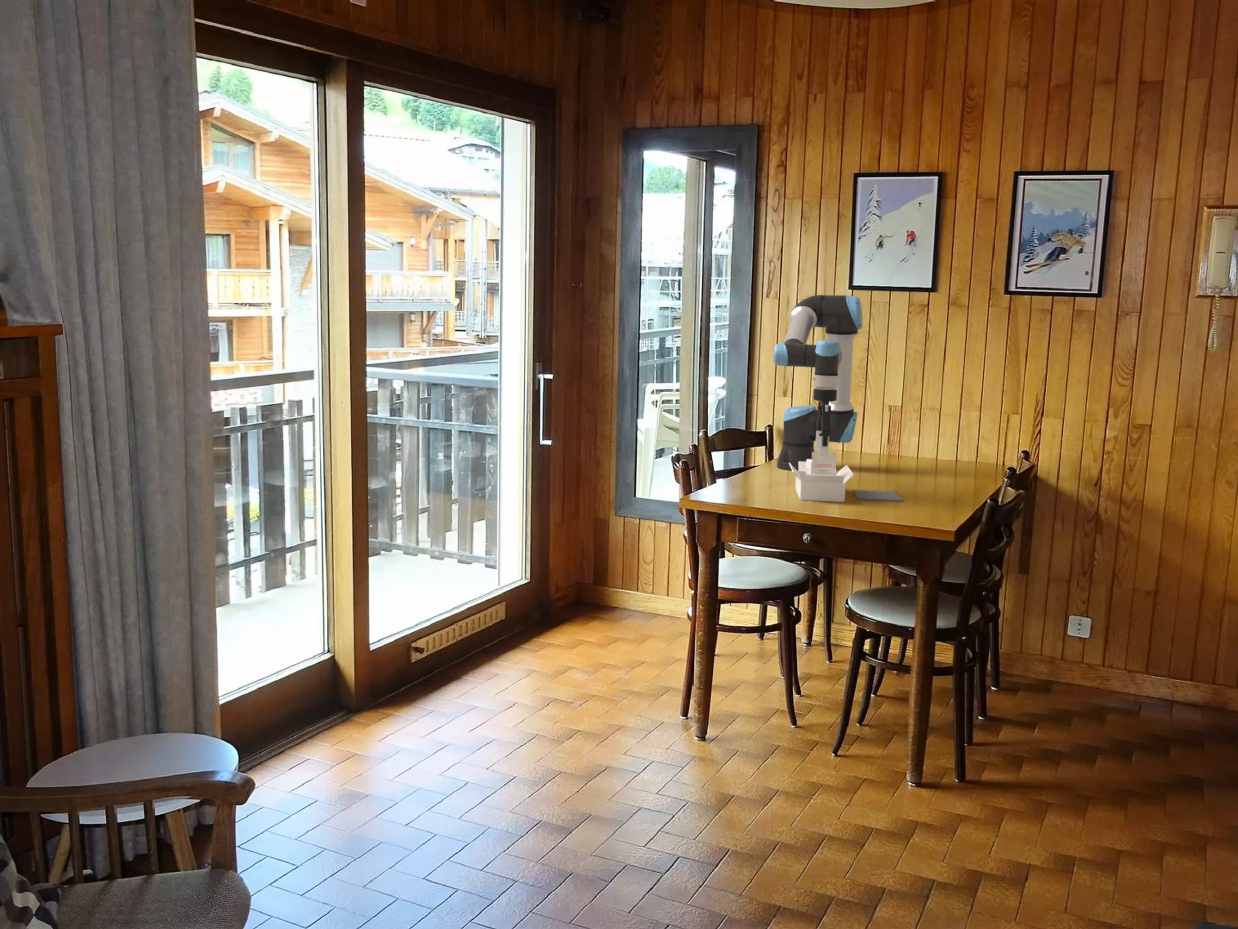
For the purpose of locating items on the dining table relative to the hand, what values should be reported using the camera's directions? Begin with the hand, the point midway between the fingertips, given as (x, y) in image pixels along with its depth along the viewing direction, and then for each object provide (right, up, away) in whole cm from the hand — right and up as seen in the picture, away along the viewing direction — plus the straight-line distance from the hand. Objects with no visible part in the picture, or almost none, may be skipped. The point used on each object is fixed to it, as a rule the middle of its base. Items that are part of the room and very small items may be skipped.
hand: (821, 453), depth 364 cm
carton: (0, -14, +2) cm, 14 cm away
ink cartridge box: (0, -14, +3) cm, 14 cm away
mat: (+19, -14, +3) cm, 24 cm away
